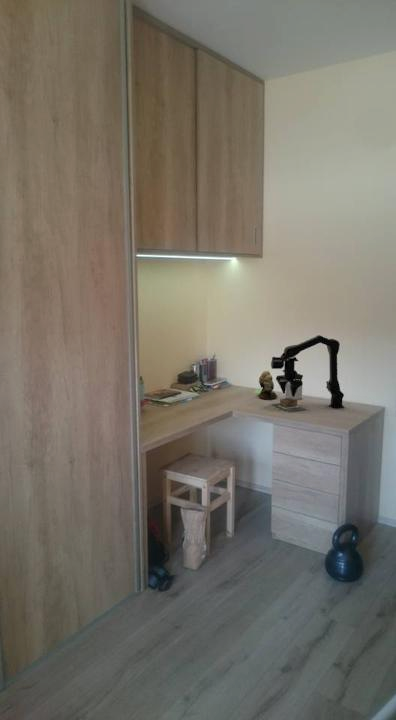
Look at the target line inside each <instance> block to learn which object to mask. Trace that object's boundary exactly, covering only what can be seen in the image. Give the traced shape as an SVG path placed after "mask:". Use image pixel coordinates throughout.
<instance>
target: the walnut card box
mask: <svg viewBox="0 0 396 720" xmlns="http://www.w3.org/2000/svg"><path fill="white" fill-rule="evenodd" d="M279 403H280V406H282V407H284V408H289V407H297V405H298V399H294V398H286V397H285V398H280V400H279Z"/></svg>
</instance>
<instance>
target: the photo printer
mask: <svg viewBox="0 0 396 720" xmlns="http://www.w3.org/2000/svg"><path fill="white" fill-rule="evenodd" d="M296 380H297V379H296ZM290 385H291V384H290V382H287V384H286V391H285V399H286V398H294V399H297V400H302V398H303V385H301V386H300V387H298V389H297V391H296V393H295V396H294V397H292V393H291V389H290Z"/></svg>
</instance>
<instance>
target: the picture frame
mask: <svg viewBox="0 0 396 720" xmlns="http://www.w3.org/2000/svg"><path fill="white" fill-rule="evenodd" d="M271 406H273V407H276V408H278V409H280V410H283V411H285V412H288V413H293V412H299V411H305V410H307V408H305V407H303V406H300V405H298V404H297V407H289V408H284V407H282V406H280V402H277V403H271Z"/></svg>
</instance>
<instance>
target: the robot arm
mask: <svg viewBox="0 0 396 720" xmlns="http://www.w3.org/2000/svg"><path fill="white" fill-rule="evenodd" d="M318 344H322V345H324V346H326V348H327V352H328V355H329V356H328V357H329V361H328V362H329V363H328V364H329V380H328V381H327V380H326V382H325V383H326V389H327V391H328V392H329V394H330V397H331V398H330V404H328V407H330V408H331V407H332V408H335V409H339V408H340V409H341V408H345V405H343V400H344V399H343V398H344V397H345V393H344V392H343V391H342V390H341V385H340V382H339V379H338V353H339V351H340V342H339V341H338V340H336V339H334V338H327V337H325V336H323V335H320V334H318V335H316V336H315V337H312V338H310V339H308V340H305V341H303V342H300V343H299V344H294V345H293V344H292V345H289V346H286V347H285V348H284V350H283V353H282V354H281V355H280V356H279V357H276V356H272V357H271V362H270V366H271V368H270V369H272V370H274V369H275V370H281V369H282V368H284V369H282V372H283V374H282V375H277V376H276V377H275V381H277V384H278V385H279V387H280V389H281V391H282V394H286V384H287V382H290V384H291V385H290V389H291V393H292V397H294V396H295V393H296V391H297V389H298V387H300V386H301V385H302V386H303V385H304V384H303V381H302V380H303V377H304V375H303V374H300V373H298V372H297V370H295V365H296V363H295V362H299V360H298V358H297V357H296V356H297V355H299V353H301V352H302V351H304V350H307V349H309V348H311V347H314V346H316V345H318ZM296 379H297V380H296Z"/></svg>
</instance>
